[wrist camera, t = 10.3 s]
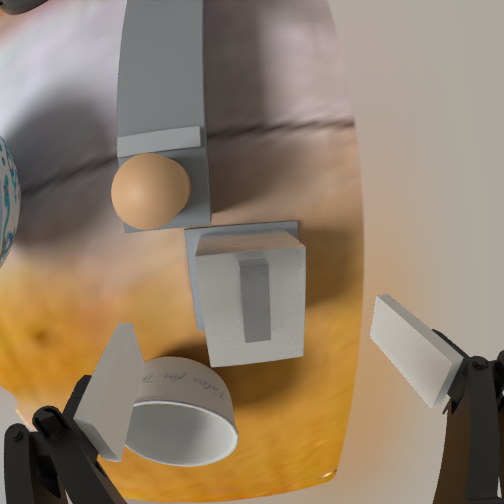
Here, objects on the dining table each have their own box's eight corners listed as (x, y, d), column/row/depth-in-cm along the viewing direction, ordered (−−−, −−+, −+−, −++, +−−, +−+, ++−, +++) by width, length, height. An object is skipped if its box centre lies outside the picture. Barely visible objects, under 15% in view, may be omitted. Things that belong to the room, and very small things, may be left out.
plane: (145, 1, 15) (112, -79, 4) (204, -7, 16) (204, -96, 4) (144, 220, 21) (75, 268, 9) (212, 214, 21) (206, 257, 10)
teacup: (234, 343, 25) (242, 404, 17) (230, 416, 28) (236, 472, 20) (94, 333, 23) (61, 384, 15) (114, 407, 26) (99, 458, 18)
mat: (184, 229, 21) (184, 230, 21) (296, 220, 22) (297, 221, 22) (198, 328, 24) (198, 330, 24) (296, 318, 25) (297, 320, 24)
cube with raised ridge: (200, 234, 21) (193, 261, 15) (282, 228, 22) (311, 251, 15) (211, 324, 24) (211, 376, 17) (284, 317, 24) (307, 364, 18)
